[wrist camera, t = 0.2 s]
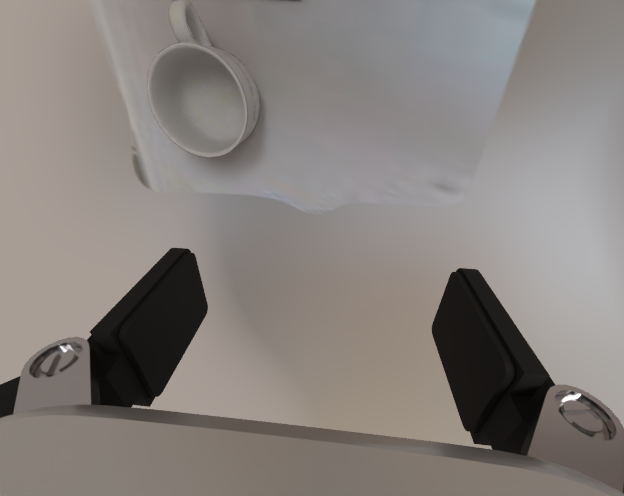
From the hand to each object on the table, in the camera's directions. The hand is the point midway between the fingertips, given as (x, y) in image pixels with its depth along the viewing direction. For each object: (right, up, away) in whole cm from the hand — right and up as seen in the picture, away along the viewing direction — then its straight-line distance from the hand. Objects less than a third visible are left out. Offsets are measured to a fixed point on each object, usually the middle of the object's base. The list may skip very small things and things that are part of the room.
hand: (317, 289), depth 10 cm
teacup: (-11, +22, +24) cm, 35 cm away
